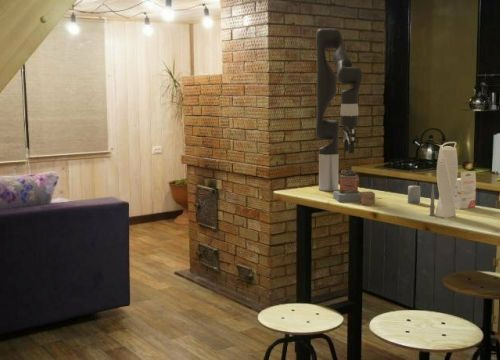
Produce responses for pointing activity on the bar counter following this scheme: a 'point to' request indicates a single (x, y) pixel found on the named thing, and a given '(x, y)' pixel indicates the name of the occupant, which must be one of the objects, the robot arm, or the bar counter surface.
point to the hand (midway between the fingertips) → (348, 152)
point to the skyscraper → (445, 182)
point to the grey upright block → (414, 194)
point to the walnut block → (367, 198)
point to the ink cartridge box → (465, 190)
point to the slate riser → (346, 196)
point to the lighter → (348, 182)
